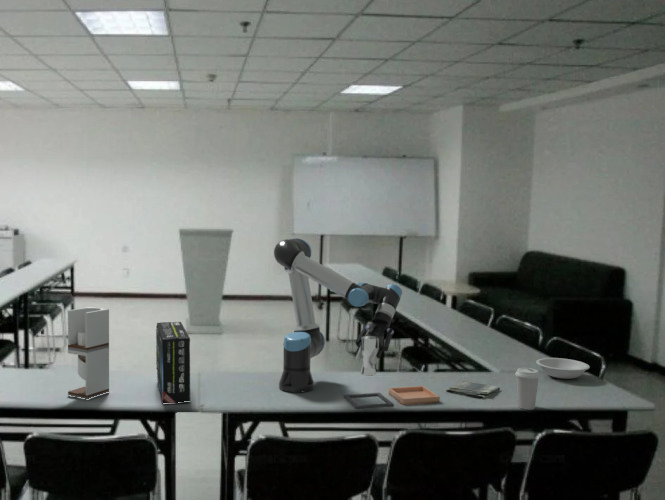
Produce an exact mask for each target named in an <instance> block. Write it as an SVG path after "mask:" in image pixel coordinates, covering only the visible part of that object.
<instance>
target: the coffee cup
mask: <svg viewBox="0 0 665 500" xmlns="http://www.w3.org/2000/svg"><path fill="white" fill-rule="evenodd" d="M514 374H515V376H516V389H517V390H516V392H517V393H516V394H517V397H516V398H517V407H518V408H519V409H523V410H527V411H529V410H531V411H532V410H534V409H535V408H536V401H537V393H538V387H539V379H540V378H541V375H540V373H539V370H538V369H535V368H531V367H520V368H517V370H516V372H515V373H514Z"/></svg>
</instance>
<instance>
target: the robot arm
mask: <svg viewBox="0 0 665 500" xmlns="http://www.w3.org/2000/svg"><path fill="white" fill-rule="evenodd" d="M273 257H274V258H275V260H276V262H277V264H279V265H281V266H283V268H284V271H285V272H287V274H288V277H289V283H290V290H291V297H292V304H293V310H294V318H295V323H296V326H295V327H294V329H293V331H294V332H290V333H287V334H286V335H285V336H284V338H283V361H282V363H283V367H282V368H283V371H282V373H281V376H280V379H279V383H278V389H279V388H280V389H279V390H281V389H282V390H281V391H283V390H285V391H284V392H286V391H291V392H290V393H303V392H302V391H307V392H310V391H309V390H311V391H313V390H314V389H313V388H315V382H314V379H313V376H312V372H311V359H312V358H314V357H316V356H318V355H319V354H321V352H322V351H323V350H324V348H325V345H326V339H325V335H324V333H322V332H321V330H320V325H319V324H318V323H316V318H315V312H314V311H315V310H314V306H313V298H312V293H311V286H310V280H312V281H314V282H315V283H317V284H319V285H320V286H323V288H326V289H328V290H329V291H331V292H333V293H335V294H337V295H338V296H340V297H342V298H343V299H346V300H347V301H348V302H349V304H350V305H351V306H354V307H363V306H365V305H366V304H369V303H371V304H377V308H376V310H375V313H374V316H373V318H372V320H371V323H370V324H369V325H366V324H363V325H362V329H361V331H360V333H359V335H358V337H357V339H356V340H355V345H356V347H357V349H356V351H355V352H356V356H355V358H354V359H355V362H356V363H357V364H360V360H362V358H361V337H362V336H375V337H377V336H378V348H377V349H376V351H375V353H374V356H373V358H372V361H371V362H372V364H373V366H375V367H376V364H377V361H378V359H380V358H381V356H382V353H383V352H388V350H389V349H390V345H391V342H392V341H391V340H392V337H393V336H394V334H395V331H394V329H393V328H392V327H390V325H391V323H392V320H393V319H394V316H395V314H396V310H397V308H398V305H399V303H400V301H401V297H402V295H403V290H402V288H401V287H400V286H399V285H397V284H394V283H388V284H387V285H386V286H385V287H381V286H378V285H375V284H371V283H368V282H367V283H366V282H361V281H360V282H358V283H355V282H353V281H352V280H351V279H348V278H346V277H345V276H343V275H341V274H339V273H338V272H335V271H334V270H333V269H331V268H329V267H327V266H325V265H323V264H321V263H319V262H318V261H316V260H314V259H312V258H311V257H312V247H311V246H310V244H309V243H308V242H307V241H306V240H304V239H302V238H289V239H288V238H287V239H282V240H280V241H279V242H278V243H277V244H275V247H274V248H273ZM309 279H310V280H309ZM385 334H386V336H385ZM384 337H385V340H384ZM312 389H313V390H312Z"/></svg>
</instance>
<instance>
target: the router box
mask: <svg viewBox="0 0 665 500" xmlns="http://www.w3.org/2000/svg"><path fill="white" fill-rule="evenodd" d="M155 333H156V334H155V335H156V336H155V340H156V343H155V344H156V345H155V346H156V347H155V348H156V350H155V351H156V353H155V354H156V358H155V359H156V362H155V364H156V370H157V371H156V375H157V376H156V379H157V381H158V382H157V386H158V385H159V386H158V390H159V394H161V395H160V399H161V398H162V399H161V403H162V402H163V403H178V402H184V401H190V402H191V350H190V347H191V338H190V336H189V334H188V332H187V330H186V329H185V326H184V325H183V323H182V321H168V322H161V321H160V322H157V323H156V328H155ZM163 403H162V404H163Z"/></svg>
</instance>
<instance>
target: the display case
mask: <svg viewBox="0 0 665 500" xmlns="http://www.w3.org/2000/svg"><path fill="white" fill-rule="evenodd" d="M67 354H72V355H77V374H78V376H79V377H80V378H81V379H82V380H84V381H85V386H83V387H82V386H81V387H78V388H75V389H71V390H69V391H67V396H68V395H71V396H75V397H81V398H85V399H89V398H91V397H94V396H97V395H100V394H103V393H106V392H109V393H110V309H109V308H101V307H95V306H88V307H82V308H75V309H70V310H67Z"/></svg>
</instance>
